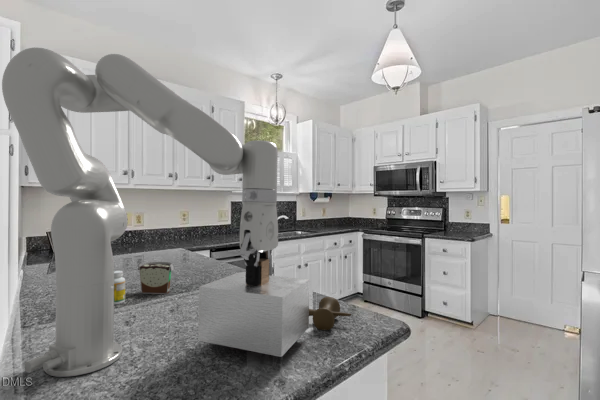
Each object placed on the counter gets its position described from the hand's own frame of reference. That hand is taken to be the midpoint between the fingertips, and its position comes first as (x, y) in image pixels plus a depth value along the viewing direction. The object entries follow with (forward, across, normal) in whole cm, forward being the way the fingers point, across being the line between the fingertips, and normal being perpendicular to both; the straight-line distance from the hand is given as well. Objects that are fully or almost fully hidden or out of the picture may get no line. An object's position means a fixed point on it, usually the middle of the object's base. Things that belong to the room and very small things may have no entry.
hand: (257, 281), depth 70 cm
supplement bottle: (+15, +12, +56) cm, 60 cm away
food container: (+15, +27, +53) cm, 62 cm away
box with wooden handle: (+11, 0, 0) cm, 11 cm away
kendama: (+14, +18, -7) cm, 24 cm away
